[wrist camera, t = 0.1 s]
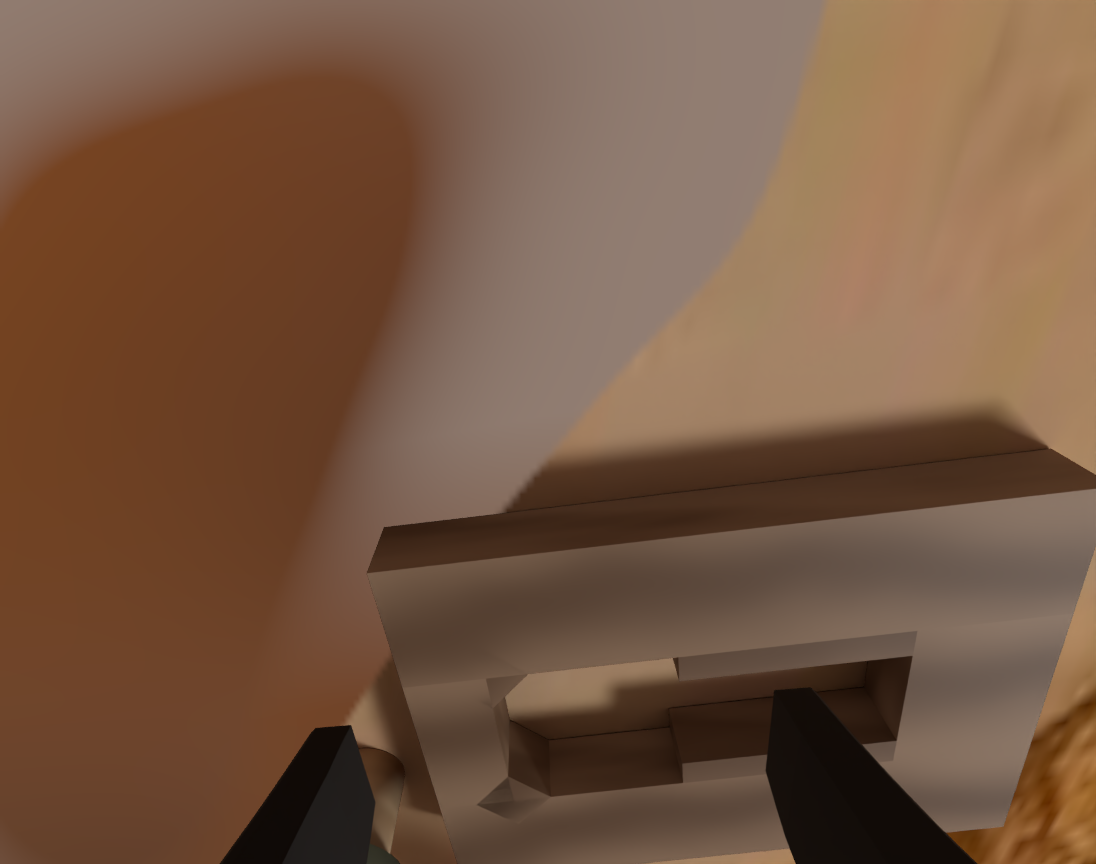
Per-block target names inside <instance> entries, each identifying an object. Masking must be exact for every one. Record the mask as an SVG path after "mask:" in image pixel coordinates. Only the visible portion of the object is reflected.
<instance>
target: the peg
mask: <svg viewBox="0 0 1096 864" xmlns="http://www.w3.org/2000/svg"><path fill="white" fill-rule="evenodd" d="M359 752H360V755H361V758H362V761H363V764H364V767H365V771H366V774H367V777H368V780H369V783H370V786H371V789H372V793H373V796H374V799H375V802H376V803H375V810H374V817H373V825H372V832H371V839H370V845H369V851H368V858H367V864H400V863H399V862H398V860H397V859H396V858H395V857H394V856H392V855H391V854H390V852H391V846H392V841H393V836H394V831H395V826H396V821H397V815H398V810H399V805H400V800H401V795H402V790H403V785H404V779H405V769H404V766H403V765H402V763H401V762H400V761H399V760H398V759H397V758H396V757H394V756H393V755H391V754H389V753H387V752H385V751H382V750H378V749H371V748H361V749H359Z"/></svg>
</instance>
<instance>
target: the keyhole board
mask: <svg viewBox="0 0 1096 864" xmlns="http://www.w3.org/2000/svg"><path fill="white" fill-rule="evenodd" d="M1095 547H1096V475H1095V474H1093V473H1092V472H1090V471H1088V470H1087V469H1085V468H1083V467H1081V466H1080V465H1078V464H1076V463H1075V462H1073V461H1071V460H1070V459H1068V458H1066V457H1064V456H1063V455H1061V454H1059V453H1058V452H1056V451H1054V450H1053V449H1044V450H1036V451H1027V452H1019V453H1011V454H1002V455H994V456H985V457H977V458H968V459H960V460H951V461H943V462H934V463H926V464H917V465H909V466H900V467H892V468H883V469H875V470H866V471H858V472H849V473H841V474H832V475H824V476H815V477H807V478H799V479H790V480H782V481H773V482H765V483H756V484H748V485H739V486H731V487H722V488H714V489H705V490H697V491H688V492H680V493H671V494H663V495H654V496H646V497H637V498H629V499H620V500H612V501H603V502H595V503H586V504H578V505H570V506H561V507H553V508H544V509H536V510H527V511H519V512H510V513H502V514H493V515H485V516H476V517H468V518H459V519H451V520H443V521H434V522H425V523H418V524H408V525H400V526H391V527H384V529H383V531H382V534H381V537H380V539H379V542H378V545H377V547H376V550H375V553H374V555H373V558H372V561H371V563H370V566H369V569H368V571H367V575H368V579H369V582H370V585H371V589H372V592H373V595H374V598H375V601H376V604H377V607H378V611H379V614H380V618H381V621H382V624H383V627H384V630H385V634H386V636H387V640H388V643H389V646H390V650H391V653H392V656H393V659H394V662H395V666H396V669H397V672H398V675H399V678H400V682H401V685H402V688H403V691H404V694H405V698H406V701H407V704H408V707H409V710H410V714H411V717H412V720H413V723H414V726H415V730H416V733H417V736H418V739H419V742H420V746H421V749H422V752H423V755H424V758H425V762H426V765H427V768H428V771H429V774H430V778H431V781H432V784H433V787H434V790H435V794H436V797H437V800H438V803H439V806H440V810H441V813H442V816H443V819H444V822H445V826H446V829H447V832H448V835H449V838H450V842H451V845H452V848H453V851H454V855H455V858H456V861H457V864H642V863H652V862H661V861H671V860H681V859H691V858H701V857H710V856H720V855H730V854H740V853H749V852H759V851H769V850H779V849H789V845H788V843H787V840H786V838H785V834H784V831H783V828H782V825H781V822H780V818H779V815H778V812H777V809H776V805H775V802H774V798H773V795H772V791H771V788H770V785H769V781H768V778H767V774H766V761H767V752H768V743H769V734H770V725H771V715H772V706H773V697H771V698H761V699H752V700H743V701H734V702H725V703H715V704H706V705H697V706H688V707H679V708H669V723H670V727H668V728H659V729H650V730H640V731H631V732H622V733H613V734H603V735H594V736H585V737H575V738H566V739H557V740H547V739H545V738H543V737H541V736H539V735H537V734H535V733H534V732H532V731H530V730H528V729H526V728H524V727H522V726H520V725H518V724H516V723H514V722H512V721H510V719H509V714H508V709H507V705H506V700H505V696H506V695H507V694H508V693H509V692H510V691H511V690H512V689H513V688H514V687H515V686H516V685H517V684H518V683H519V682H520V681H521V680H522V679H523V678H525V677H526V676H527V675H528V674H533V673H542V672H551V671H560V670H569V669H578V668H587V667H596V666H605V665H614V664H623V663H632V662H641V661H650V660H659V659H668V658H673V660H674V664H675V668H676V671H677V675H678V678H679V681H687V680H696V679H705V678H714V677H724V676H733V675H742V674H751V673H760V672H769V671H778V670H787V669H796V668H805V667H815V666H824V665H833V664H842V663H851V662H860V661H868V663H867V670H866V677H865V684H864V687H863V688H853V689H844V690H835V691H826V692H817V694H818V695H819V696H820V697H821V698H822V700H823V701H824V702H825V703H826V704H827V705H828V707H829V708H830V709H831V710H832V711H833V712H834V713H835V715H836V716H837V717H838V718H839V719H840V720H841V721H842V723H843V724H844V725H845V726H846V727H847V728H848V729H849V731H850V732H851V733H852V734H853V735H854V736H855V737H856V738H857V740H858V741H859V742H860V743H861V744H862V745H863V746H864V747H865V748H866V750H867V751H868V752H869V753H870V754H871V755H872V756H873V757H874V758H875V759H876V761H877V762H878V763H879V764H880V765H881V766H882V767H883V768H884V769H885V770H886V771H887V773H888V774H889V775H890V776H891V777H892V778H893V779H894V780H895V781H896V782H897V783H898V784H899V785H900V786H901V787H902V788H903V789H904V791H905V792H906V793H907V794H908V795H909V796H910V797H911V798H912V799H913V800H914V801H915V802H916V803H917V804H918V805H919V806H920V807H921V808H922V809H923V810H924V811H925V812H926V813H927V814H928V815H929V816H930V817H931V819H932V820H933V821H934V822H935V823H936V824H937V825H938V826H939V827H940V828H941V829H942V830H943V831H944V832H955V831H965V830H974V829H984V828H994V827H1003V826H1004V823H1005V820H1006V817H1007V814H1008V811H1009V808H1010V805H1011V802H1012V799H1013V795H1014V792H1015V789H1016V786H1017V783H1018V780H1019V777H1020V774H1021V771H1022V768H1023V765H1024V762H1025V759H1026V756H1027V753H1028V750H1029V747H1030V744H1031V741H1032V738H1033V735H1034V732H1035V729H1036V726H1037V723H1038V720H1039V717H1040V714H1041V711H1042V708H1043V705H1044V701H1045V698H1046V695H1047V692H1048V689H1049V686H1050V683H1051V680H1052V677H1053V674H1054V671H1055V668H1056V665H1057V662H1058V659H1059V656H1060V653H1061V650H1062V647H1063V644H1064V641H1065V638H1066V635H1067V632H1068V629H1069V626H1070V623H1071V620H1072V617H1073V614H1074V611H1075V607H1076V604H1077V601H1078V598H1079V595H1080V592H1081V589H1082V586H1083V583H1084V580H1085V577H1086V574H1087V571H1088V568H1089V565H1090V562H1091V559H1092V556H1093V553H1094V550H1095Z"/></svg>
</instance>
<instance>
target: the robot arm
mask: <svg viewBox="0 0 1096 864" xmlns="http://www.w3.org/2000/svg"><path fill="white" fill-rule="evenodd" d="M766 774H767V778H768V781H769V785H770V788H771V791H772V795H773V798H774V802H775V805H776V809H777V812H778V815H779V818H780V822H781V825H782V828H783V831H784V834H785V838H786V840H787V843H788V845H789V848H790V850H791V853H792V855H793V858H794V860H795V863H796V864H977V863H976V862H975V861H974V860H973V859H972V858H971V857H970V856H969V855H968V854H967V853H966V852H965V851H964V850H962V849H961V848H960V847H959V846H958V845H957V844H956V843H955V842H954V841H953V840H952V839H951V838H950V837H949V836H948V835H947V834H946V833H945V832H944V831H943V830H942V829H941V828H940V827H939V826H938V825H937V824H936V823H935V822H934V821H933V820H932V819H931V817H930V816H929V815H928V814H927V813H926V812H925V811H924V810H923V809H922V808H921V807H920V806H919V805H918V804H917V803H916V802H915V801H914V800H913V799H912V798H911V797H910V796H909V795H908V794H907V793H906V792H905V791H904V789H903V788H902V787H901V786H900V785H899V784H898V783H897V782H896V781H895V780H894V779H893V778H892V777H891V776H890V775H889V774H888V773H887V771H886V770H885V769H884V768H883V767H882V766H881V765H880V764H879V763H878V762H877V761H876V759H875V758H874V757H873V756H872V755H871V754H870V753H869V752H868V751H867V750H866V748H865V747H864V746H863V745H862V744H861V743H860V742H859V741H858V740H857V738H856V737H855V736H854V735H853V734H852V733H851V732H850V731H849V729H848V728H847V727H846V726H845V725H844V724H843V723H842V721H841V720H840V719H839V718H838V717H837V716H836V715H835V713H834V712H833V711H832V710H831V709H830V708H829V707H828V705H827V704H826V703H825V702H824V701H823V700H822V698H821V697H820V696H819V695H818V694H817V693H816V692H815V691H814V690H813V689H812V688H810V687H809V688H797V689H785V690H774V697H773V706H772V715H771V725H770V734H769V743H768V752H767V761H766ZM375 803H376V802H375V799H374V796H373V793H372V789H371V786H370V783H369V780H368V777H367V774H366V771H365V767H364V764H363V761H362V758H361V755H360V752H359V749H358V746H357V742H356V739H355V736H354V733H353V730H352V727H351V725H347V726H335V727H323V728H315V729H314V730H313V731H312V732H311V734H310V735H309V737H308V738H307V740H306V741H305V742H304V744H303V746H302V747H301V749H300V750H299V751H298V753H297V754H296V756H295V757H294V759H293V760H292V762H291V763H290V765H289V766H288V768H287V769H286V771H285V772H284V774H283V775H282V777H281V778H280V780H279V781H278V782H277V784H276V785H275V787H274V788H273V790H272V791H271V793H270V794H269V796H268V797H267V799H266V800H265V802H264V803H263V804H262V806H261V807H260V808H259V810H258V811H257V813H256V814H255V816H254V817H253V819H252V820H251V821H250V823H249V824H248V826H247V827H246V828H245V830H244V831H243V832H242V834H241V835H240V836H239V838H238V839H237V841H236V842H235V844H234V845H233V846H232V848H231V849H230V850H229V852H228V853H227V855H226V856H225V857H224V859H223V860H222V861H221V863H220V864H367V858H368V851H369V845H370V839H371V832H372V825H373V817H374V810H375Z"/></svg>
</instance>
